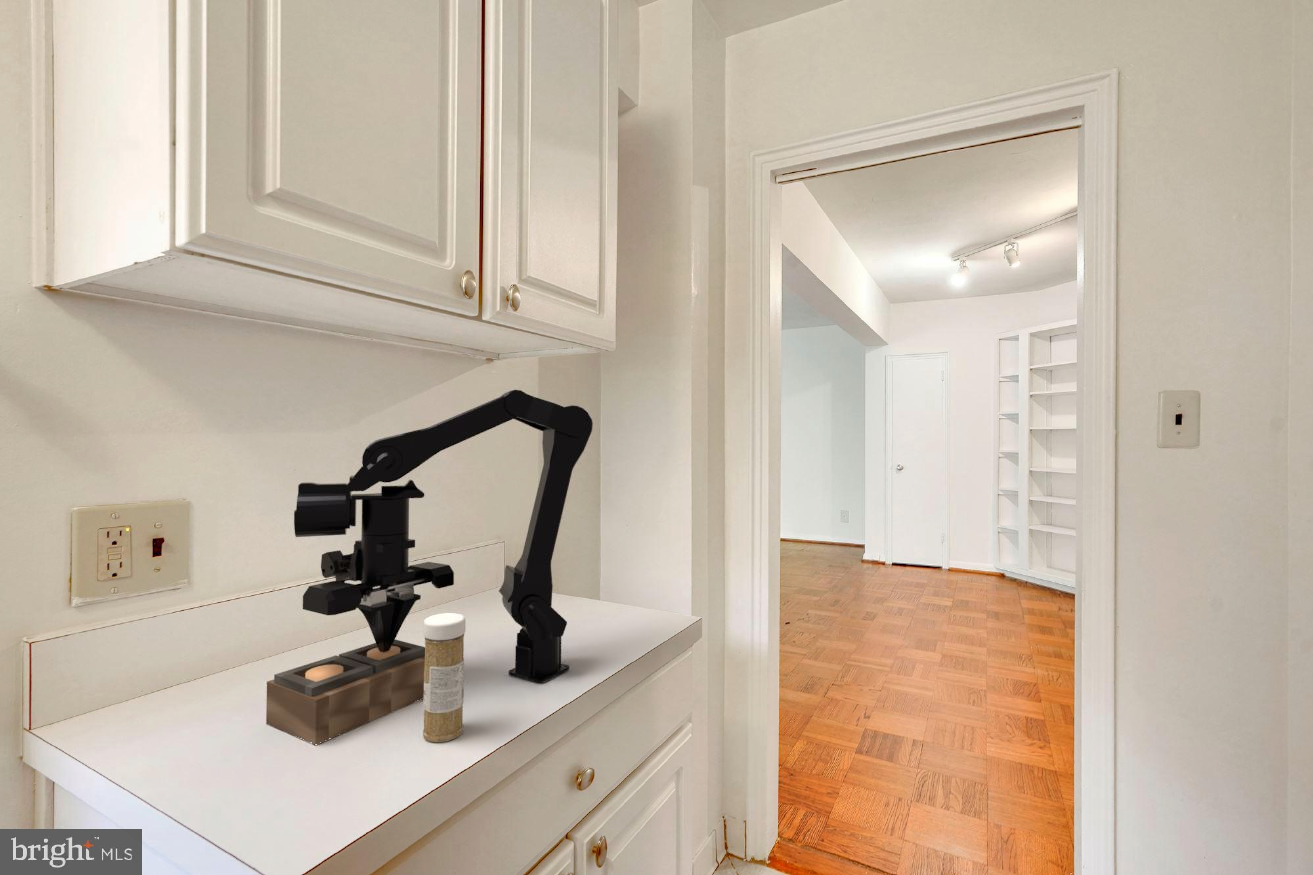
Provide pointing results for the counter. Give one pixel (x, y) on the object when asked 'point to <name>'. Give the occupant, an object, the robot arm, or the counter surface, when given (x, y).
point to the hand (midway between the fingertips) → (384, 651)
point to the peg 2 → (382, 653)
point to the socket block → (345, 692)
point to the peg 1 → (323, 672)
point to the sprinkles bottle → (443, 676)
